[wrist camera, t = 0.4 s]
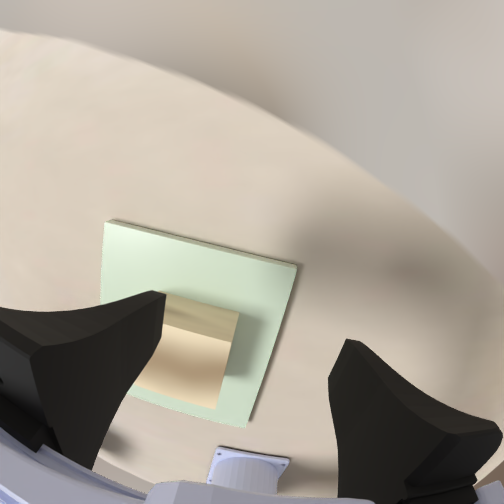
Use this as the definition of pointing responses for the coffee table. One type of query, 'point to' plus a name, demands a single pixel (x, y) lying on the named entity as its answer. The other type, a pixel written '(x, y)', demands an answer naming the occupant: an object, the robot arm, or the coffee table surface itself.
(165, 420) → the coffee table surface
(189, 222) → the coffee table surface
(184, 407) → the plate
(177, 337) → the maple base brick
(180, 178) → the coffee table surface
